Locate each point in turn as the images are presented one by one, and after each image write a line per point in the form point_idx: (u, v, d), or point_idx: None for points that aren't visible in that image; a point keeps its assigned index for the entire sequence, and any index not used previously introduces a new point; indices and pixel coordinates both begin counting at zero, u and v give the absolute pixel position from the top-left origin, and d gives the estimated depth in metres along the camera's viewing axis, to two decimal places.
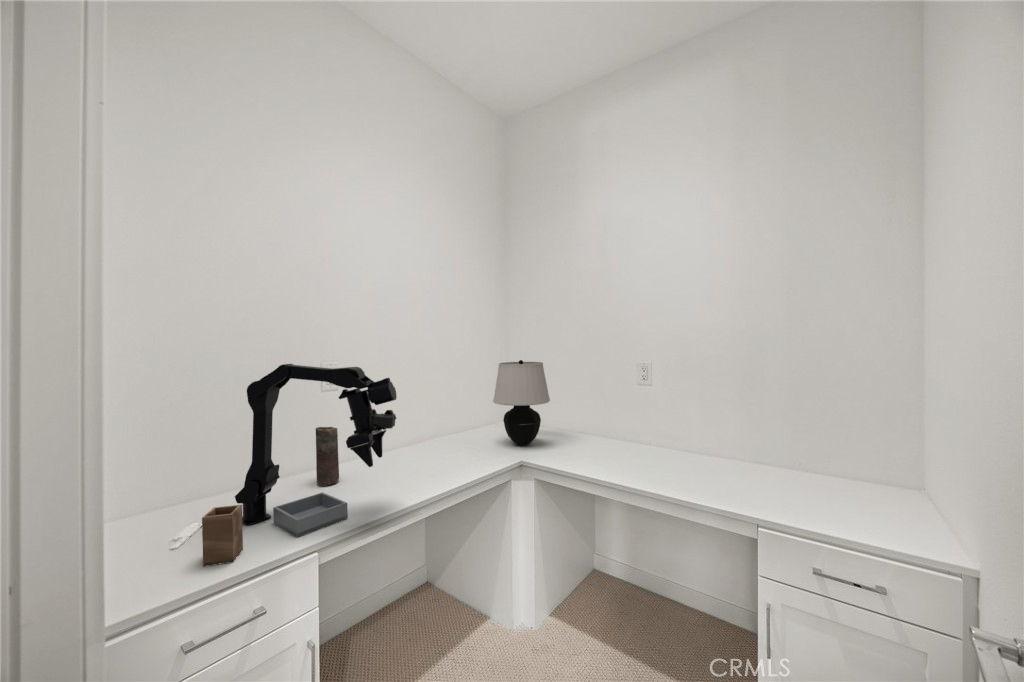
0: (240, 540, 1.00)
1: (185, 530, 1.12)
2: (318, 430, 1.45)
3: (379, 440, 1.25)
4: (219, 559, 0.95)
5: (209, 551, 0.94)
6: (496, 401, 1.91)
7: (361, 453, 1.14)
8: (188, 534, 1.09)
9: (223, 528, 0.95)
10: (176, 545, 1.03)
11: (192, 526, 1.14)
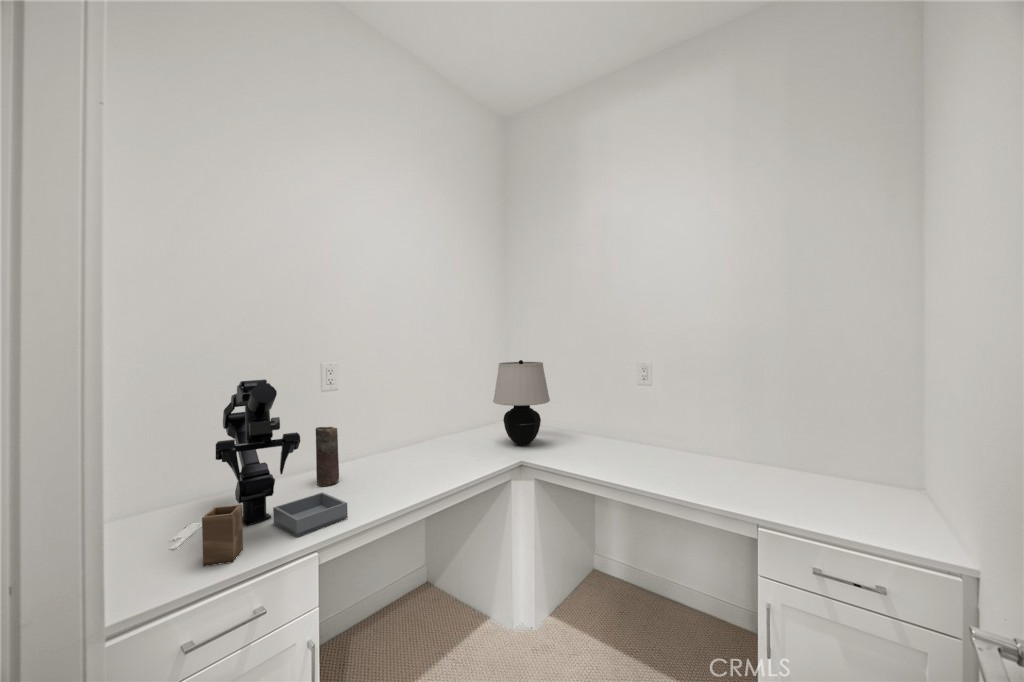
0: (240, 540, 1.00)
1: (184, 530, 1.12)
2: (318, 430, 1.45)
3: (281, 454, 1.10)
4: (219, 559, 0.95)
5: (209, 551, 0.94)
6: (496, 401, 1.91)
7: (232, 465, 1.05)
8: (188, 534, 1.09)
9: (223, 528, 0.95)
10: (175, 545, 1.03)
11: (191, 526, 1.14)
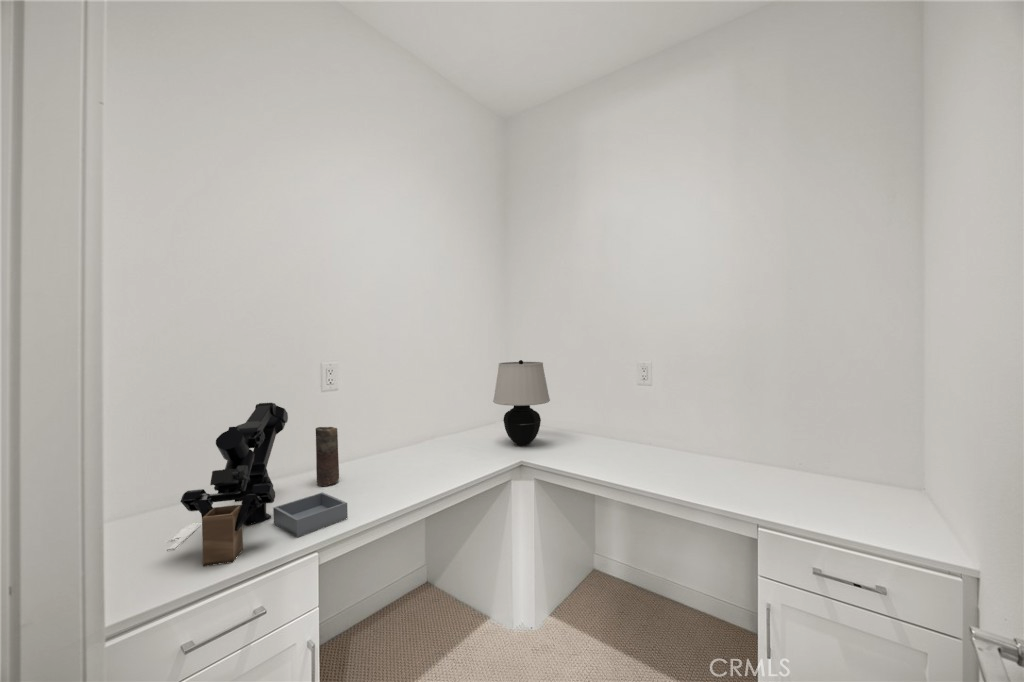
0: (240, 540, 1.00)
1: (183, 530, 1.11)
2: (318, 430, 1.45)
3: None
4: (219, 559, 0.95)
5: (209, 551, 0.94)
6: (496, 401, 1.91)
7: None
8: (186, 535, 1.09)
9: (223, 528, 0.95)
10: (174, 545, 1.03)
11: (190, 526, 1.13)
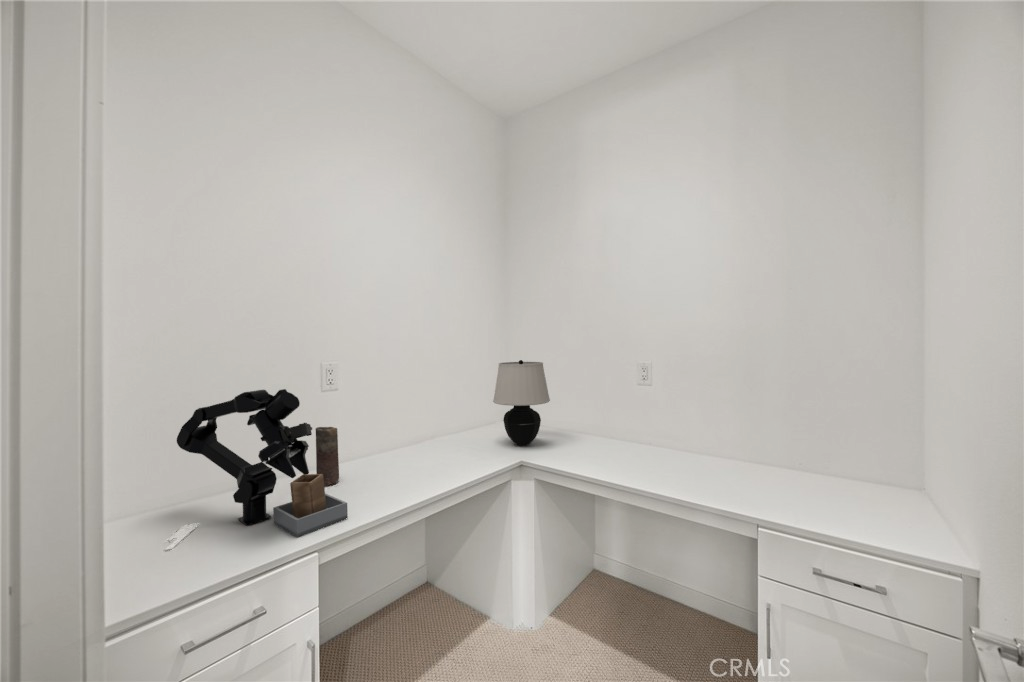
0: None
1: (180, 531, 1.11)
2: (318, 430, 1.45)
3: (301, 457, 1.21)
4: None
5: (316, 508, 1.15)
6: (496, 401, 1.91)
7: (279, 465, 1.10)
8: (183, 535, 1.09)
9: (320, 487, 1.17)
10: (171, 546, 1.03)
11: (187, 527, 1.13)
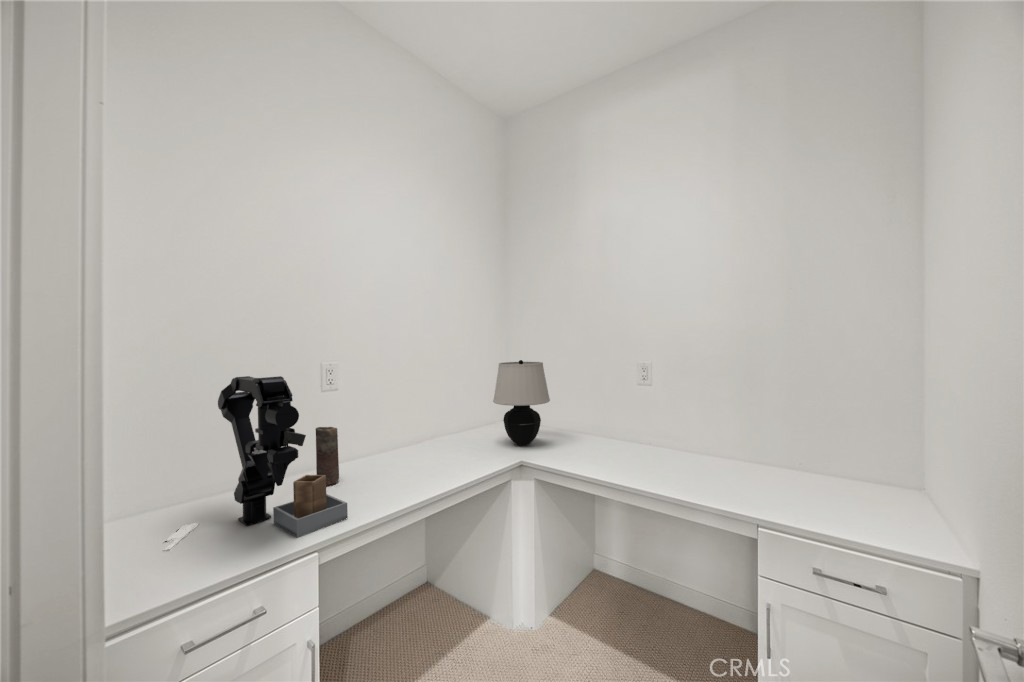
0: None
1: (179, 531, 1.11)
2: (318, 430, 1.45)
3: (267, 460, 1.15)
4: None
5: (317, 508, 1.15)
6: (496, 401, 1.91)
7: (277, 470, 1.07)
8: (182, 536, 1.08)
9: (322, 488, 1.18)
10: (169, 546, 1.03)
11: (186, 527, 1.13)
